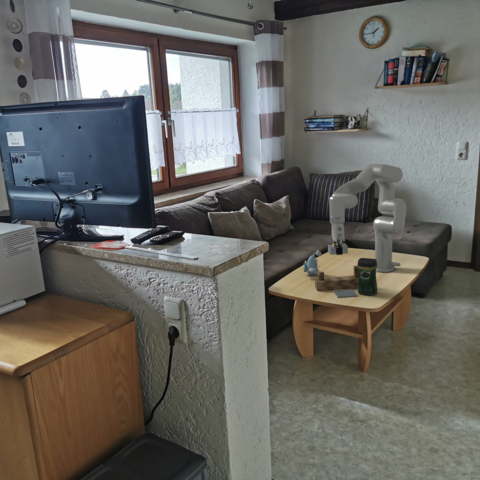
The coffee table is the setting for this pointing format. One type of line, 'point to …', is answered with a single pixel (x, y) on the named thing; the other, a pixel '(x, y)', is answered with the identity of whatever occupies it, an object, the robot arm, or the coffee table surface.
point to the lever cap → (333, 248)
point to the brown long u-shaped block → (337, 281)
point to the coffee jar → (367, 276)
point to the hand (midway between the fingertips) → (337, 252)
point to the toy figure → (311, 264)
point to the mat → (345, 293)
